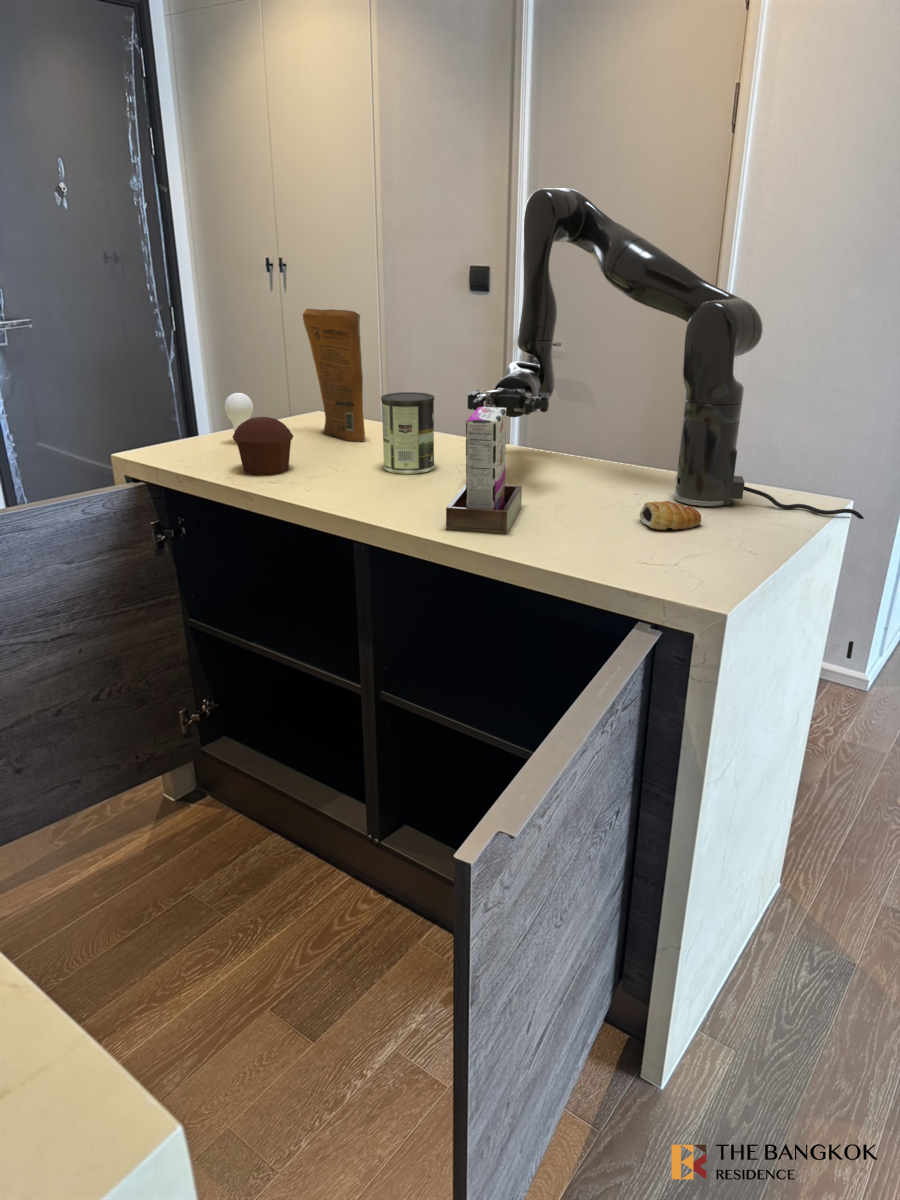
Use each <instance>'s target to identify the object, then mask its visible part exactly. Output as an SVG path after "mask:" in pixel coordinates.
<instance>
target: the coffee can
mask: <svg viewBox="0 0 900 1200" xmlns="http://www.w3.org/2000/svg"><path fill="white" fill-rule="evenodd" d="M380 401H381V419H382V450H383V451H382V452H383V455H382V456H383V470H384V471H386V472H389V473H392V474H402V475H415V474H424V473H428V472H431V471H433V470H434V469H435V402H434V401H435V395H433V394H431V393H426V392H413V391H405V392H404V391H403V392H401V391H400V392H392V393H391V392H390V393H387V394H383V395H381V396H380Z"/></svg>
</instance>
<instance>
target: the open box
mask: <svg viewBox="0 0 900 1200" xmlns="http://www.w3.org/2000/svg"><path fill="white" fill-rule="evenodd" d="M522 497H523V485H516V484H515V485H514V484H505V504H504V506H503V508H502V510H493V509H478V508H466V483H465V484H464V485H463V487H462V488H460V490H459V492H458V493H457V494H456V495H455V496H454V498H453V499H452V500H451V501H450V502H449V503H448V505H447V506H446V507H445V530H447V531H459V532H473V533H485V534H498V535H499V534H500V535H507V534H508V532H509V530H510V528H511V526H512V524H513V523H514V521H515V519H516V517H517V515H518V513H519V511H520V509H521V507H522V499H523V498H522Z"/></svg>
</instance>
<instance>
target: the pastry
mask: <svg viewBox="0 0 900 1200" xmlns="http://www.w3.org/2000/svg"><path fill="white" fill-rule="evenodd" d="M639 518H640V522H641V523H642V524H643V525H645V526H648V527H649V528H651V529H654V530H657V531H660V530H661V531H662V530H665V531H666V530H667V529H672V530H679V529H681V530H684V529H691V528H694V527H696V526H698V525H700V524H701V522H702V515H701V513H700V511H699V510H698V509H696V508H695V507H693V506H691V505H690V506H689V505H688V506H685V505H684V504H683V503H680V502H679V503H677V502H671V501H669V500H663V501H647V502H645V503H644V504H643V506H642V507H641V510H640V512H639Z"/></svg>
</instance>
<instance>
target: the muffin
mask: <svg viewBox="0 0 900 1200" xmlns="http://www.w3.org/2000/svg"><path fill="white" fill-rule="evenodd" d="M293 438H294V434H293V433H292V431H291V430H290V428H289V427H288V426H286V424H285V423H283V422H282V421H280V420H279V419H277V418H273V417H269V416H255V417H250V419H248V420H246V421H245V422H243V423H242V424H240V425H239V426H238V427H237V429H236V430H235V431H234V432H233V435H232V440H233V441H234V442H235V443H236V445H237V449H238V453H239V457H240V461H241V466H242V469H243V472H244V474H249V475H252V476H257V475H258V476H269V475H270V476H271V475H276V474H282V473H284V472H287V471H289V467H290V458H291V457H290V456H291V443H292V440H293Z"/></svg>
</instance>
